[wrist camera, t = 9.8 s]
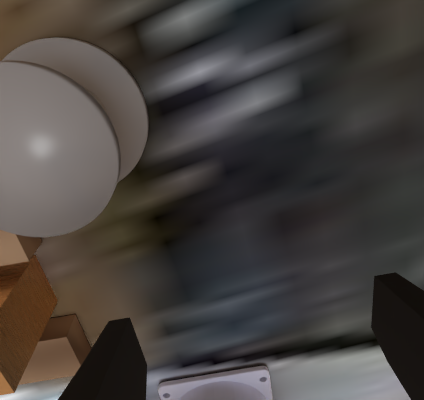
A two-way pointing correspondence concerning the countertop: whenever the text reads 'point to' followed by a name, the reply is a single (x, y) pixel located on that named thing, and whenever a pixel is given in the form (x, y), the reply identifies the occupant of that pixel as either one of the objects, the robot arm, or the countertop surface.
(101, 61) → the door knob
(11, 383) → the wooden block
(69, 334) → the terminal board
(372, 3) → the countertop surface
